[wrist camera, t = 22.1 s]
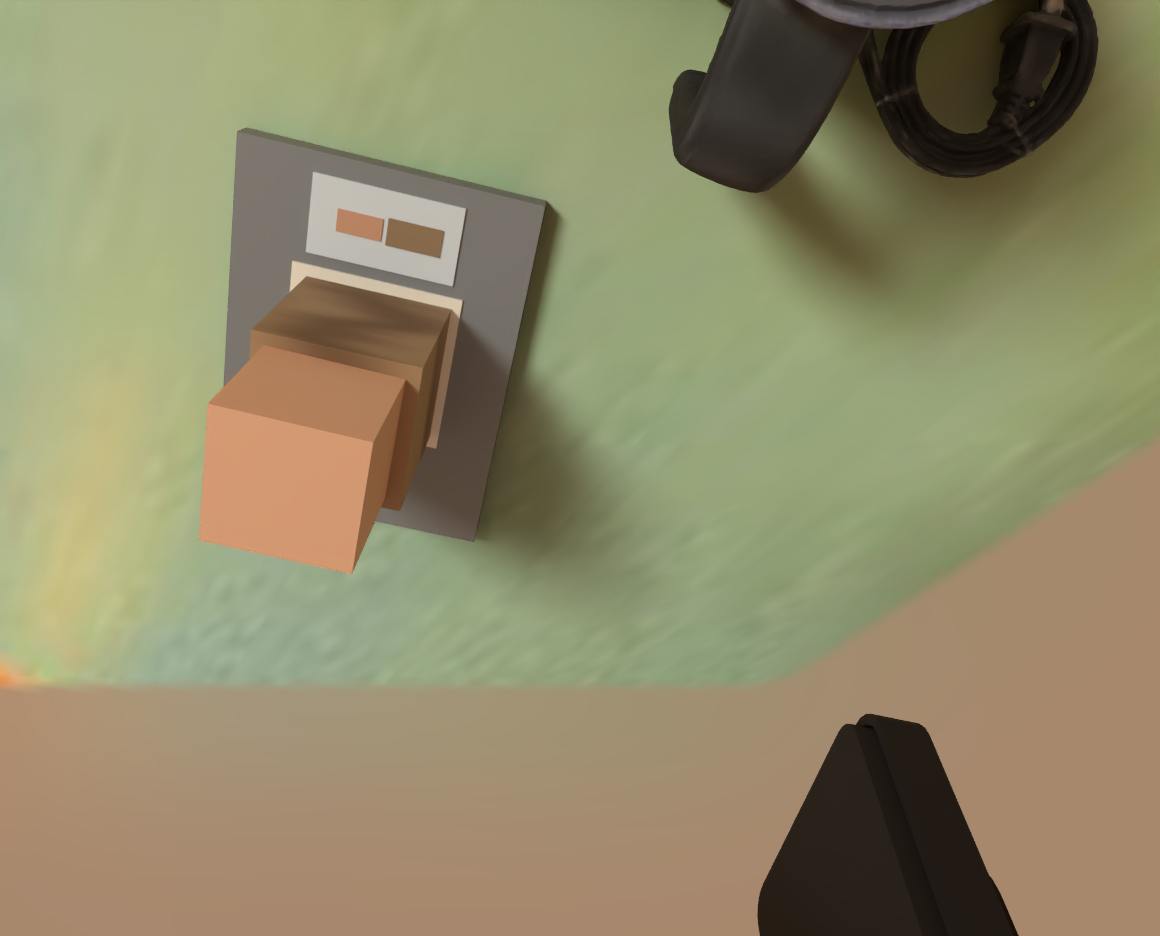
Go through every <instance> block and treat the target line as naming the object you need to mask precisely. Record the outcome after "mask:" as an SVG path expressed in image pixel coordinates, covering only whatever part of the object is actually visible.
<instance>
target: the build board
mask: <svg viewBox="0 0 1160 936" xmlns="http://www.w3.org/2000/svg"><path fill="white" fill-rule="evenodd" d="M546 202H547V201H544V200H540V199H536V198H532V197H528V196H524V195H520V194H516V193H512V192H508V191H503V190H499V189H495V188H491V187H487V186H483V185H479V184H475V183H471V182H467V181H463V180H459V179H454V178H450V177H446V176H442V175H438V174H434V173H430V172H426V171H422V170H418V169H414V168H409V167H405V166H401V165H397V164H393V163H389V162H385V161H381V160H377V159H373V158H369V157H364V156H360V155H356V154H352V153H348V152H344V151H340V150H336V149H332V148H328V147H324V146H319V145H315V144H311V143H307V142H303V141H299V140H295V139H291V138H287V137H283V136H279V135H275V134H270V133H266V132H262V131H258V130H254V129H250V128H244V129H242V130H239V131H237V143H236V162H235V181H234V200H233V219H232V237H231V256H230V275H229V294H228V313H227V331H226V350H225V369H224V386H225V385H226V384H227V383H228V382H229V381H230V380H231V379H232V378H233V377H234V376H235V375H236V374H237V373H238V372H239V371H240V370H241V369H242V367H243V366H244V365H245V364H246V363H247V362H248V361H249V354H250V339H251V329H252V328H253V327H254V326H255V325H256V324H257V323H258V322H259V321H260V320H261V319H262V318H264V317H265V316H266V315H267V314H268V313H269V312H270V311H271V310H272V309H273V308H274V307H275V306H276V305H277V304H278V303H279V302H280V301H281V300H282V299H283V298H284V297H285V296H286V295H287V294H288V293H289V292H290V291H291V290H293V289H294V288H295V287H296V286H297V285H298V284H299V283H300V282H301V281H302V280H303V279H304V278H305V277H306V276H308V277H313V278H317V279H321V280H326V281H330V282H335V283H339V284H343V285H348V286H352V287H356V288H361V289H365V290H369V291H374V292H378V293H383V294H387V295H391V296H396V297H400V298H404V299H409V300H413V301H417V302H422V303H426V304H430V305H435V306H439V307H444V308H448V309H452V310H451V316H450V321H449V327H448V333H447V339H446V345H445V351H444V357H443V363H442V368H441V374H440V380H439V386H438V392H437V398H436V404H435V409H434V415H433V421H432V427H431V433H430V437H429V440H428V442H427V445H426V447H425V450H424V452H423V455H422V458H421V460H420V463H419V465H418V468H417V470H416V473H415V475H414V478H413V480H412V483H411V485H410V488H409V490H408V493H407V495H406V498H405V500H404V503H403V505H402V508H401V510H400V511H396V510H392V509H387V508H382V507H381V509H380V511H379V513H378V515H377V518H376V520H375V521H378V522H383V523H388V524H392V525H397V526H402V527H406V528H411V529H416V530H421V531H425V532H430V533H435V534H439V535H444V536H449V537H454V538H458V539H463V540H468V541H472V542H474V539H475V535H476V531H477V526H478V522H479V517H480V512H481V508H482V503H483V498H484V493H485V489H486V484H487V479H488V475H489V470H490V465H491V461H492V456H493V451H494V447H495V442H496V437H497V432H498V428H499V423H500V418H501V414H502V409H503V404H504V400H505V395H506V390H507V385H508V381H509V376H510V371H511V367H512V362H513V357H514V353H515V348H516V343H517V338H518V334H519V329H520V324H521V320H522V315H523V310H524V306H525V301H526V296H527V292H528V287H529V282H530V277H531V273H532V268H533V263H534V259H535V254H536V249H537V245H538V240H539V235H540V230H541V226H542V221H543V216H544V212H545V207H546Z"/></svg>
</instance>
